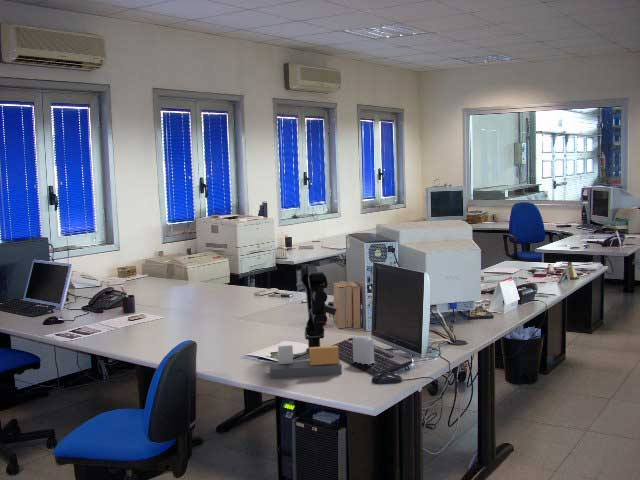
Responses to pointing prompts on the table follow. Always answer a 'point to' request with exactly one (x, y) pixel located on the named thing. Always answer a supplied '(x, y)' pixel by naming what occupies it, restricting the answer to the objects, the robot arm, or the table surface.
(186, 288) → the table surface
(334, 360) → the orange slider
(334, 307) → the robot arm
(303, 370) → the switch box
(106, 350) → the table surface
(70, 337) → the table surface
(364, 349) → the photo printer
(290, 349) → the white slider
